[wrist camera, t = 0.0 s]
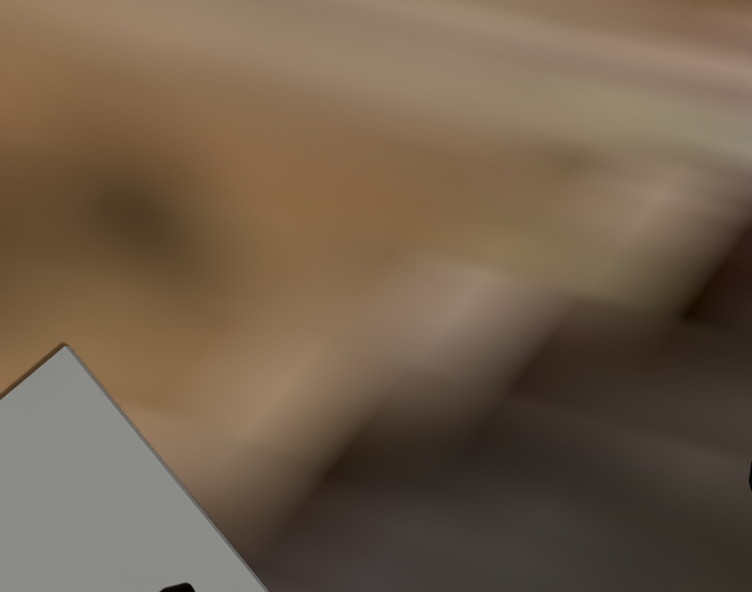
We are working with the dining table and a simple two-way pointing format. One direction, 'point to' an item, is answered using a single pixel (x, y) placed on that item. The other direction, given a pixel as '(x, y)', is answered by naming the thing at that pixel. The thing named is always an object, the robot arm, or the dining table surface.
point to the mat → (97, 498)
